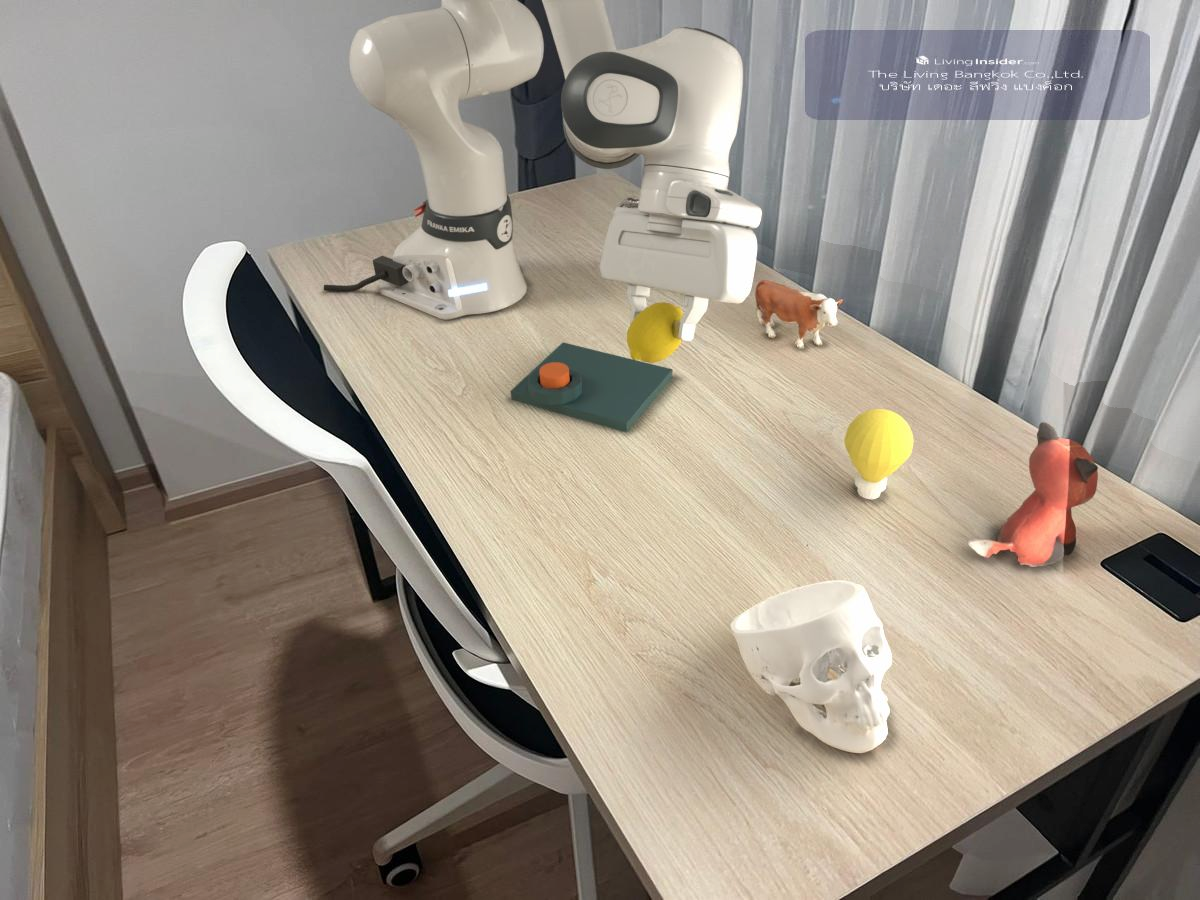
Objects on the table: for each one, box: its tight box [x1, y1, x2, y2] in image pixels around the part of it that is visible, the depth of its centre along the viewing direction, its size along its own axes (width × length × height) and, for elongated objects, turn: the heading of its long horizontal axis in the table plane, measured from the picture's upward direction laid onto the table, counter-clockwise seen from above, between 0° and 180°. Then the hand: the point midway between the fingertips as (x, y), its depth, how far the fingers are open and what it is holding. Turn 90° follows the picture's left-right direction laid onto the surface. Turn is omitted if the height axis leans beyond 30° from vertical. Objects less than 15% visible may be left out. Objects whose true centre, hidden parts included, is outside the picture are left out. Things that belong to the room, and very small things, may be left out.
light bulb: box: [844, 408, 914, 500], centre depth 92 cm, size 7×7×10 cm
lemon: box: [626, 301, 684, 364], centre depth 96 cm, size 6×6×8 cm
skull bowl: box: [730, 579, 893, 754], centre depth 74 cm, size 10×14×12 cm
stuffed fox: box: [967, 421, 1099, 568], centre depth 84 cm, size 8×11×12 cm
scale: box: [510, 342, 673, 433], centre depth 112 cm, size 16×14×3 cm
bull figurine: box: [754, 279, 844, 350], centre depth 118 cm, size 4×13×8 cm, turn 41°
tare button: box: [539, 362, 570, 389], centre depth 109 cm, size 4×4×2 cm
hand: (660, 334), depth 96 cm, fingers closed on lemon, 5 cm apart
